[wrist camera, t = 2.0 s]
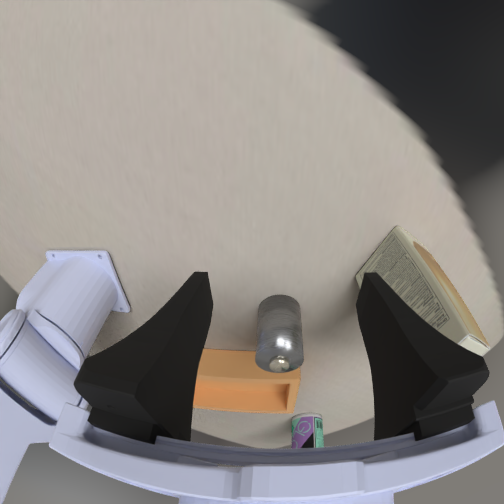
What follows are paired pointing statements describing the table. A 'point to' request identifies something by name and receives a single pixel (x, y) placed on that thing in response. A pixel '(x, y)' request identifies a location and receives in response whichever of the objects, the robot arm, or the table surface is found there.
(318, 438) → the spray can
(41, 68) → the table surface
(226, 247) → the table surface
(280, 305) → the cell
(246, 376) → the trough
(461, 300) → the skincare box
